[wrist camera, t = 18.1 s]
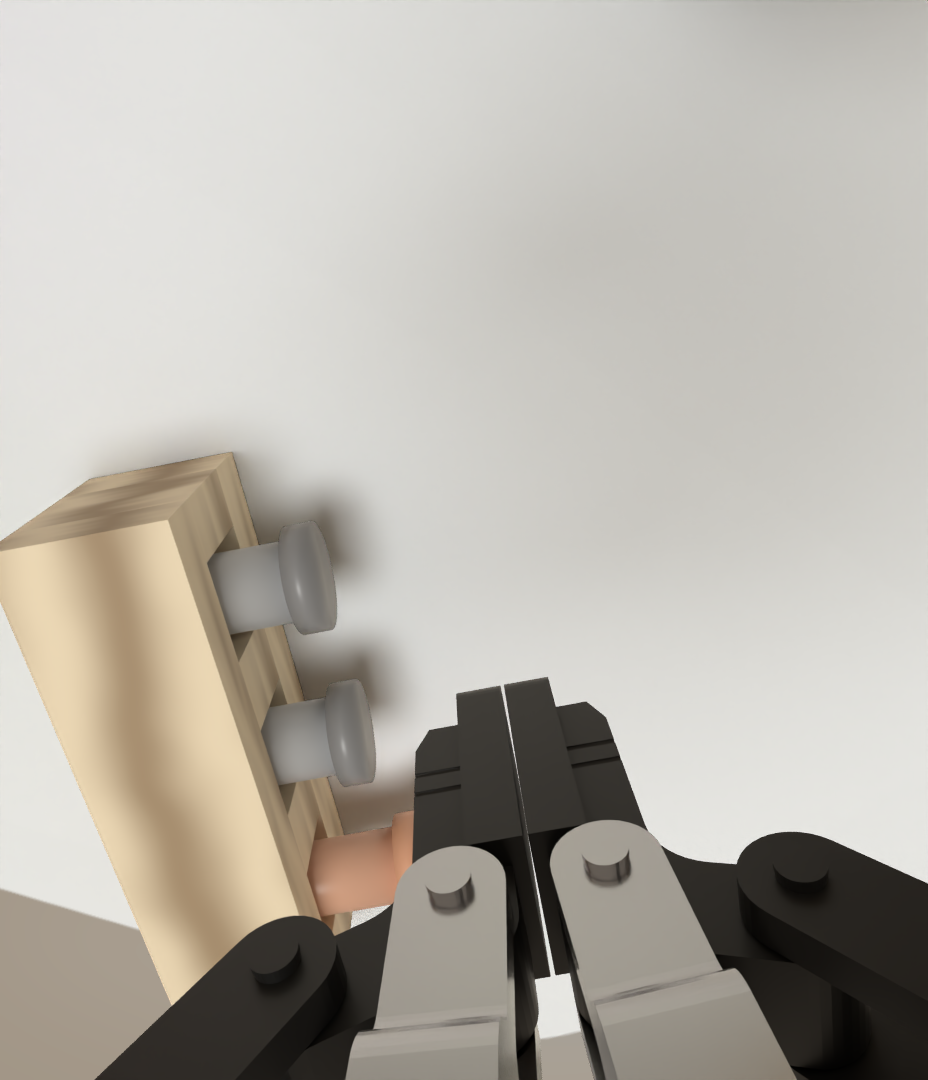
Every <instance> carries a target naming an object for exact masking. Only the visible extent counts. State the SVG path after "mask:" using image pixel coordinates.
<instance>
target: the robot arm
mask: <svg viewBox="0 0 928 1080" xmlns="http://www.w3.org/2000/svg"><path fill="white" fill-rule="evenodd" d="M504 688H505V695H506V701H507V707H508V713H509V719H510V726H511V732H512V738H513V744H514V751H515V757H516V763H517V768H516V763H515V758H514V753H513V748H512V743H511V737H510V732H509V727H508V722H507V717H506V712H505V707H504V701H503V696H502V692H501V687H500V686H496V687H490V688H485V689H479V690H474V691H468V692H463V693H457V694H456V699H457V718H458V725H455V726H449V727H444V728H438V729H433V730H429V731H428V733H427V735H426V736H425V738H424V739H423V741H422V743H421V744H420V746H419V747H418V749H417V751H416V760H415V777H416V778H415V791H414V793H415V797H414V822H413V853H412V865H411V866H410V867H409V868H408V869H407V870H406V871H405V873H404V874H403V875H402V877H401V878H400V880H399V882H398V885H397V888H396V892H395V897H394V902H393V903H392V904H391V905H390V906H389V907H388V908H387V909H385V910H384V911H383V912H381V913H380V914H378V915H377V916H375V917H374V918H372V919H370V920H368V921H366V922H364V923H362V924H360V925H357V926H355V927H353V928H351V929H349V930H346V931H344V932H342V933H340V934H338V935H335V936H334V934H333V932H332V930H331V929H330V928H329V927H328V926H327V925H326V924H325V923H324V922H322V921H321V920H319V919H316V918H313V917H309V916H288V917H283V918H279V919H276V920H273V921H271V922H268V923H266V924H264V925H262V926H260V927H258V928H256V929H255V930H253V931H252V932H250V933H249V934H248V935H246V936H245V937H244V938H243V939H242V940H241V941H239V942H238V943H237V944H236V945H235V946H234V947H233V948H232V949H231V950H230V951H229V952H228V953H227V954H226V955H225V956H224V957H223V958H222V959H221V960H219V961H218V962H217V963H216V964H215V965H214V966H213V967H212V968H211V969H210V970H209V971H208V972H207V973H206V974H205V975H204V976H203V977H202V978H201V979H200V980H199V981H197V982H196V983H195V984H194V985H193V986H192V987H191V988H190V989H189V990H188V991H187V992H186V993H185V994H184V995H183V996H182V997H181V998H180V999H179V1000H178V1001H177V1002H175V1003H174V1004H173V1005H172V1006H171V1007H170V1008H169V1009H168V1010H167V1011H166V1012H165V1013H164V1014H163V1015H162V1016H161V1017H160V1018H159V1019H158V1020H157V1021H156V1022H155V1023H154V1024H152V1026H150V1027H149V1028H148V1029H147V1030H146V1031H145V1032H144V1033H143V1034H142V1035H141V1036H140V1037H139V1038H138V1039H137V1040H136V1041H135V1042H134V1043H133V1044H132V1045H130V1046H129V1047H128V1048H127V1049H126V1050H125V1051H124V1052H123V1053H122V1054H121V1055H120V1056H119V1057H118V1058H117V1059H116V1060H115V1061H114V1062H113V1063H112V1064H111V1065H110V1066H108V1067H107V1068H106V1069H105V1070H104V1071H103V1072H102V1073H101V1074H100V1075H99V1076H98V1077H97V1078H96V1079H95V1080H542V1069H541V1050H540V1037H539V1031H538V1026H537V1021H538V1014H539V1011H538V1000H537V993H536V985H535V979H539V978H545V977H551V976H550V970H549V963H548V957H547V951H546V945H545V938H544V932H543V926H542V920H541V914H540V907H539V901H538V895H537V889H536V882H535V876H534V870H533V864H532V857H533V863H534V868H535V873H536V878H537V883H538V888H539V893H540V898H541V903H542V908H543V914H544V919H545V924H546V929H547V934H548V939H549V944H550V949H551V954H552V960H553V965H554V970H555V975H560V974H566V973H570V976H571V981H572V987H573V992H574V997H575V1001H576V1007H577V1012H578V1018H579V1023H580V1028H581V1034H582V1037H583V1041H584V1045H585V1048H586V1052H587V1056H588V1059H589V1063H590V1067H591V1070H592V1074H593V1078H594V1080H928V883H925V882H923V881H921V880H919V879H916V878H914V877H912V876H910V875H908V874H905V873H903V872H901V871H899V870H896V869H894V868H892V867H890V866H887V865H885V864H883V863H881V862H879V861H876V860H874V859H872V858H870V857H867V856H865V855H863V854H861V853H858V852H856V851H854V850H852V849H850V848H847V847H845V846H843V845H841V844H838V843H836V842H834V841H832V840H829V839H827V838H824V837H821V836H817V835H814V834H809V833H802V832H781V833H775V834H770V835H767V836H764V837H761V838H759V839H757V840H755V841H754V842H752V843H751V844H750V845H748V846H747V847H746V848H745V849H744V850H743V852H742V853H741V855H740V857H739V859H738V861H737V864H725V863H712V862H703V861H696V860H692V859H688V858H685V857H682V856H680V855H677V854H675V853H673V852H671V851H669V850H667V849H666V848H664V847H663V846H661V845H660V844H659V842H658V840H657V839H656V838H655V837H654V836H653V835H652V834H651V833H649V832H648V830H647V828H646V826H645V824H644V821H643V818H642V815H641V813H640V810H639V807H638V804H637V802H636V799H635V796H634V793H633V791H632V788H631V785H630V782H629V780H628V777H627V774H626V771H625V769H624V766H623V763H622V760H621V759H620V755H619V752H618V749H617V747H616V744H615V743H614V738H613V736H612V733H611V730H610V727H609V725H608V722H607V719H606V717H605V716H604V715H602V714H601V713H600V712H599V711H597V710H596V709H595V708H594V707H592V706H591V705H590V704H589V703H587V702H581V703H576V704H570V705H565V706H559V707H556V706H555V702H554V699H553V695H552V691H551V687H550V683H549V680H548V677H544V678H539V679H533V680H528V681H522V682H517V683H511V684H506V685H504ZM517 769H518V774H517ZM518 775H519V779H518ZM519 782H520V784H519ZM520 788H521V790H520ZM521 794H522V796H521ZM522 800H523V801H522ZM523 806H524V808H523ZM524 813H525V814H524ZM525 819H526V820H525ZM526 825H527V826H526ZM527 831H528V832H527ZM528 837H529V839H528ZM529 842H530V845H529ZM530 847H531V851H530ZM531 852H532V857H531Z"/></svg>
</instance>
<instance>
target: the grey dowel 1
mask: <svg viewBox="0 0 928 1080" xmlns="http://www.w3.org/2000/svg"><path fill="white" fill-rule="evenodd" d="M207 565H208V568H209V571H210V575H211V578H212V581H213V584H214V587H215V590H216V593H217V596H218V599H219V603H220V606H221V609H222V612H223V615H224V618H225V621H226V624H227V628H228V631H229V634H230V635H231V634H236V633H242V632H247V631H252V630H258V629H263V628H269V627H274V626H279V625H285V624H290V623H294V625H295V627H296V628H297V630H298V631H299V632H300V633H301V634H303V635H307V634H312V633H318V632H323V631H328V630H333V629H334V627H335V625H336V619H337V598H336V588H335V581H334V575H333V570H332V565H331V561H330V557H329V553H328V549H327V546H326V543H325V540H324V537H323V535H322V533H321V531H320V529H319V527H318V525H317V524H316V523H315V522H314V521H309V522H304V523H299V524H294V525H288V526H284V527H283V528H282V529H281V531H280V535H279V541H278V542H273V543H268V544H262V545H257V546H252V547H247V548H241V549H236V550H231V551H225V552H220V553H215V554H213V555H212V556H211V558H210V559H209V561H208V562H207Z"/></svg>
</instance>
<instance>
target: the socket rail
mask: <svg viewBox="0 0 928 1080" xmlns="http://www.w3.org/2000/svg"><path fill="white" fill-rule="evenodd" d="M257 545H259V543H258V540H257V536H256V533H255V530H254V526H253V523H252V519H251V516H250V513H249V509H248V506H247V502H246V499H245V496H244V492H243V489H242V485H241V482H240V479H239V475H238V472H237V468H236V465H235V462H234V458H233V455H232V452H229V453H224V454H218V455H213V456H208V457H203V458H198V459H192V460H187V461H182V462H177V463H172V464H166V465H161V466H156V467H151V468H146V469H140V470H135V471H130V472H125V473H120V474H114V475H109V476H104V477H99V478H94V479H89V480H87V481H86V482H85V483H83V484H82V485H80V486H79V487H77V488H76V489H75V490H73V491H72V492H70V493H69V494H67V495H66V496H65V497H63V498H62V499H60V500H59V501H57V502H56V503H55V504H53V505H52V506H50V507H49V508H47V509H46V510H45V511H43V512H42V513H40V514H39V515H37V516H36V517H35V518H33V519H32V520H30V521H29V522H27V523H26V524H25V525H23V526H22V527H20V528H19V529H17V530H16V531H15V532H13V533H12V534H10V535H9V536H7V537H6V538H5V539H3V540H2V541H0V602H1V605H2V607H3V609H4V612H5V614H6V616H7V619H8V621H9V624H10V626H11V628H12V631H13V633H14V635H15V638H16V640H17V642H18V645H19V647H20V649H21V652H22V654H23V657H24V659H25V661H26V664H27V666H28V668H29V671H30V673H31V675H32V678H33V680H34V682H35V685H36V687H37V689H38V692H39V694H40V697H41V699H42V701H43V704H44V706H45V708H46V711H47V713H48V715H49V718H50V720H51V722H52V725H53V727H54V729H55V732H56V734H57V737H58V739H59V741H60V744H61V746H62V748H63V751H64V753H65V755H66V758H67V760H68V762H69V765H70V767H71V769H72V772H73V774H74V777H75V779H76V781H77V784H78V786H79V788H80V791H81V793H82V795H83V798H84V800H85V802H86V805H87V807H88V810H89V812H90V814H91V817H92V819H93V821H94V824H95V826H96V828H97V831H98V833H99V835H100V838H101V840H102V842H103V845H104V847H105V850H106V852H107V854H108V857H109V859H110V861H111V864H112V866H113V868H114V871H115V873H116V875H117V878H118V880H119V882H120V885H121V887H122V890H123V892H124V894H125V897H126V899H127V901H128V904H129V906H130V908H131V911H132V913H133V915H134V918H135V920H136V923H137V925H138V927H139V930H140V932H141V934H142V936H143V939H144V941H145V944H146V946H147V948H148V951H149V953H150V955H151V958H152V960H153V963H154V965H155V967H156V970H157V972H158V974H159V977H160V979H161V981H162V984H163V986H164V988H165V991H166V993H167V995H168V998H169V1000H170V1003H171V1005H173V1004H174V1003H175V1002H177V1001H178V1000H179V999H180V998H181V997H182V996H183V995H184V994H185V993H186V992H187V991H188V990H189V989H190V988H191V987H192V986H193V985H194V984H195V983H196V982H197V981H199V980H200V979H201V978H202V977H203V976H204V975H205V974H206V973H207V972H208V971H209V970H210V969H211V968H212V967H213V966H214V965H215V964H216V963H217V962H218V961H219V960H221V959H222V958H223V957H224V956H225V955H226V954H227V953H228V952H229V951H230V950H231V949H232V948H233V947H234V946H235V945H236V944H237V943H238V942H239V941H241V940H242V939H243V938H244V937H245V936H246V935H248V934H249V933H250V932H252V931H253V930H255V929H256V928H258V927H260V926H262V925H264V924H266V923H268V922H271V921H273V920H276V919H279V918H283V917H288V916H309V917H313V918H316V919H319V920H321V921H322V922H324V923H325V924H326V925H327V926H328V927H329V928H330V929H331V930H332V932H333V934H334V936H335V935H338V934H340V933H342V932H344V931H346V930H349V929H350V927H351V919H352V911H351V912H345V913H339V914H334V915H328V916H322V917H320V914H319V911H318V908H317V905H316V902H315V899H314V896H313V893H312V889H311V886H310V883H309V880H308V877H307V871H308V865H309V860H310V855H311V850H312V845H313V840H319V839H325V838H330V837H336V836H342V835H344V832H343V829H342V826H341V822H340V819H339V815H338V812H337V809H336V805H335V802H334V798H333V795H332V792H331V788H330V785H329V781H328V778H327V777H323V778H317V779H311V780H306V781H300V782H295V783H289V784H284V785H278V783H277V780H276V777H275V774H274V771H273V768H272V765H271V762H270V758H269V755H268V752H267V749H266V746H265V743H264V740H263V737H262V734H261V729H262V726H263V723H264V720H265V717H266V714H267V711H268V709H269V708H270V707H275V706H281V705H286V704H292V703H297V702H303V701H305V700H304V696H303V693H302V690H301V686H300V683H299V679H298V676H297V673H296V669H295V666H294V662H293V659H292V656H291V652H290V649H289V645H288V642H287V639H286V635H285V632H284V628H283V625H279V626H274V627H269V628H263V629H258V630H252V631H247V632H242V633H236V634H231V635H230V634H229V631H228V628H227V624H226V621H225V618H224V615H223V612H222V609H221V606H220V603H219V599H218V596H217V593H216V590H215V587H214V584H213V581H212V578H211V575H210V571H209V568H208V565H207V562H208V561H209V559H210V558H211V556H212V555H213V554H215V553H220V552H225V551H231V550H236V549H241V548H247V547H252V546H257Z"/></svg>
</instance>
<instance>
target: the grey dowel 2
mask: <svg viewBox="0 0 928 1080" xmlns="http://www.w3.org/2000/svg"><path fill="white" fill-rule="evenodd" d="M261 734H262V737H263V740H264V743H265V746H266V749H267V752H268V755H269V758H270V762H271V765H272V768H273V771H274V774H275V777H276V780H277V783H278V785H284V784H289V783H295V782H300V781H306V780H311V779H317V778H323V777H328V776H334V775H337V777H338V780H339V781H340V783H341V784H342V786H344V787H348V786H354V785H360V784H365V783H371V782H373V780H374V777H375V770H376V751H375V740H374V732H373V725H372V719H371V714H370V709H369V705H368V701H367V698H366V695H365V692H364V689H363V687H362V684H361V683H360V681H359V680H358V679H352V680H346V681H341V682H335V683H331V684H329V686H328V688H327V691H326V697H324V698H319V699H313V700H308V701H303V702H297V703H292V704H286V705H281V706H275V707H270V708H269V709H268V711H267V714H266V717H265V720H264V723H263V726H262V729H261Z"/></svg>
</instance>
